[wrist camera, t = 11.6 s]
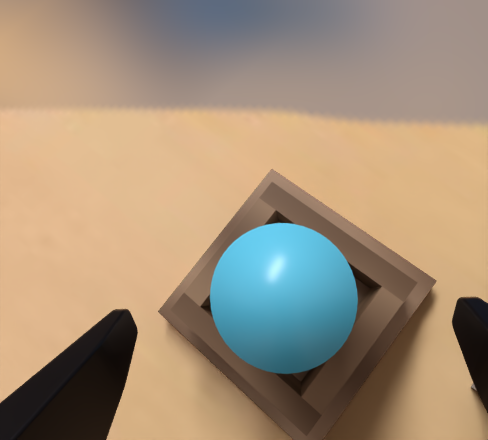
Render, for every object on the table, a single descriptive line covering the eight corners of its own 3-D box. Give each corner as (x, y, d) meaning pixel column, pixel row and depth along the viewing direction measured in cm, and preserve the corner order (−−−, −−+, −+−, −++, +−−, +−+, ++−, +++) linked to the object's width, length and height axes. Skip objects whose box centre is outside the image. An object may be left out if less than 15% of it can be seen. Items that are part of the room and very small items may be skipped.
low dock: (310, 446, 16) (313, 486, 12) (165, 310, 18) (135, 313, 15) (428, 281, 17) (461, 277, 13) (273, 175, 19) (267, 149, 16)
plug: (338, 330, 16) (376, 360, 8) (258, 344, 16) (222, 384, 9) (319, 250, 17) (336, 209, 9) (244, 265, 17) (200, 238, 10)
